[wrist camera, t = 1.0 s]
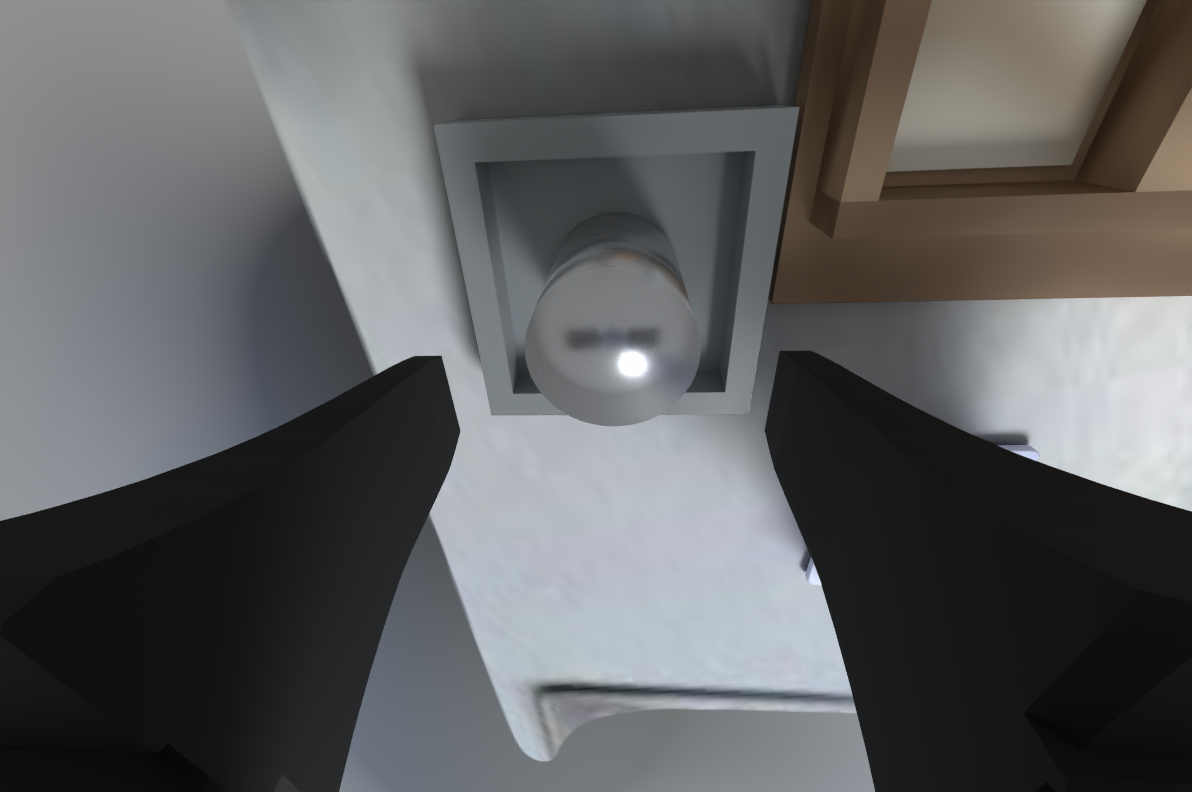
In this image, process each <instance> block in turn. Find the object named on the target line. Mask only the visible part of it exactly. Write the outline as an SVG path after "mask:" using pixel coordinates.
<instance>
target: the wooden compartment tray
mask: <svg viewBox="0 0 1192 792" xmlns="http://www.w3.org/2000/svg"><path fill="white" fill-rule="evenodd" d="M795 107H799V113H798V119H797V125H796V131H795V138H794V144H793V150H792V156H791V162H790V168H789V174H788V180H787V186H786V192H785V198H784V205H783V211H782V217H781V223H780V229H779V235H778V241H777V247H776V253H775V259H774V266H773V272H772V278H771V284H770V290H769V296H768V299H769V301H770V302H771V303H772V304H797V303H848V302H899V301H950V300H1001V299H1052V298H1103V297H1154V296H1192V0H812V1H811V7H810V14H809V20H808V26H807V32H806V39H805V45H804V51H803V57H802V64H801V70H800V76H799V83H798V89H797V95H796V101H795Z"/></svg>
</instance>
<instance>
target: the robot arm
mask: <svg viewBox="0 0 1192 792" xmlns="http://www.w3.org/2000/svg"><path fill="white" fill-rule="evenodd" d="M765 433H766V437H767V442H768V446H769V450H770V454H771V458H772V461H773V465H774V469H775V472H776V474H777V477H778V479H779V482H780V484H781V486H782V489H783V491H784V494H785V496H786V498H787V501H788V503H789V506H790V508H791V510H792V513H793V515H794V517H795V520H796V522H797V524H798V527H799V529H800V532H801V534H802V536H803V539H804V541H805V543H806V546H807V548H808V550H809V553H810V555H811V559H810V562H809V565H808V568H807V571H806V578H807V581H808V582H809V583H810V584H813V585H822V588H823V591H824V595H825V598H826V601H827V605H828V608H829V611H830V615H831V618H832V621H833V625H834V628H835V632H836V635H837V639H838V642H839V646H840V650H841V653H842V657H843V661H844V664H845V668H846V672H847V675H848V679H849V683H850V687H851V691H852V695H853V699H854V703H855V707H856V711H857V715H858V719H859V723H860V727H861V731H862V735H863V739H864V743H865V747H866V751H867V756H868V760H869V765H870V769H871V774H872V779H873V783H874V788H875V792H1192V512H1191V511H1188V510H1184V509H1181V508H1177V507H1174V506H1170V505H1167V504H1164V503H1160V502H1157V501H1153V500H1150V499H1147V498H1143V497H1140V496H1137V495H1134V494H1131V493H1128V492H1124V491H1121V490H1118V489H1115V488H1112V487H1109V486H1106V485H1103V484H1100V483H1097V482H1094V481H1091V480H1088V479H1085V478H1082V477H1080V476H1077V475H1074V474H1071V473H1068V472H1065V471H1062V470H1060V469H1057V468H1054V467H1051V466H1048V465H1045V464H1043V463H1040V462H1037V460H1038V458H1039V452H1038V451H1036V450H1035V449H1034V448H1033V447H1031V446H1028V445H995V444H993V443H990V442H988V441H986V440H983V439H981V438H978V437H976V436H974V435H971V434H969V433H967V432H965V431H963V430H960V429H958V428H956V427H954V426H952V425H950V424H948V423H946V422H944V421H941V420H939V419H937V418H935V417H933V416H931V415H929V414H927V413H925V412H923V411H921V410H919V409H917V408H915V407H914V406H912V405H910V404H908V403H906V402H904V401H902V400H900V399H899V398H897V397H895V396H893V395H891V394H889V393H888V392H886V391H884V390H882V389H880V388H879V387H877V386H875V385H873V384H872V383H870V382H868V381H866V380H865V379H863V378H861V377H859V376H858V375H856V374H854V373H852V372H851V371H849V370H847V369H845V368H844V367H842V366H840V365H838V364H836V363H835V362H833V361H831V360H829V359H827V358H825V357H823V356H821V355H819V354H817V353H815V352H812V351H780V353H779V359H778V364H777V369H776V374H775V379H774V385H773V390H772V395H771V400H770V406H769V411H768V416H767V421H766V426H765ZM459 434H460V428H459V424H458V420H457V416H456V412H455V408H454V404H453V400H452V396H451V392H450V388H449V384H448V380H447V376H446V372H445V368H444V364H443V360H442V356H414V357H411V358H409V359H406V360H404V361H402V362H400V363H398V364H396V365H394V366H392V367H390V368H388V369H386V370H384V371H382V372H380V373H379V374H377V375H375V376H373V377H372V378H370V379H368V380H366V381H364V382H362V383H361V384H359V385H357V386H355V387H353V388H352V389H350V390H348V391H346V392H344V393H343V394H341V395H339V396H337V397H335V398H334V399H332V400H330V401H328V402H326V403H324V404H322V405H320V406H318V407H316V408H314V409H312V410H310V411H309V412H307V413H305V414H303V415H301V416H299V417H297V418H295V419H293V420H291V421H290V422H287V423H285V424H283V425H281V426H279V427H277V428H275V429H273V430H271V431H268V432H266V433H264V434H262V435H260V436H257V437H255V438H253V439H250V440H248V441H245V442H243V443H241V444H238V445H236V446H234V447H232V448H229V449H227V450H224V451H222V452H219V453H217V454H214V455H211V456H209V457H206V458H203V459H200V460H198V461H195V462H192V463H189V464H187V465H184V466H181V467H179V468H176V469H173V470H170V471H167V472H165V473H162V474H159V475H156V476H154V477H151V478H148V479H145V480H142V481H139V482H136V483H133V484H129V485H126V486H123V487H120V488H117V489H114V490H111V491H107V492H104V493H101V494H98V495H94V496H91V497H88V498H84V499H80V500H77V501H73V502H70V503H67V504H63V505H60V506H56V507H52V508H49V509H45V510H41V511H38V512H35V513H31V514H27V515H23V516H19V517H15V518H11V519H7V520H3V521H0V792H339V789H340V785H341V781H342V777H343V773H344V768H345V764H346V761H347V756H348V752H349V748H350V744H351V740H352V736H353V732H354V728H355V725H356V721H357V717H358V713H359V710H360V707H361V703H362V699H363V696H364V692H365V688H366V685H367V681H368V678H369V674H370V670H371V667H372V664H373V661H374V657H375V654H376V651H377V648H378V644H379V641H380V638H381V635H382V631H383V628H384V625H385V622H386V619H387V616H388V613H389V610H390V607H391V604H392V601H393V598H394V595H395V592H396V589H397V586H398V584H399V580H400V578H401V575H402V572H403V570H404V567H405V565H406V563H407V560H408V558H409V555H410V553H411V551H412V549H413V547H414V544H415V542H416V540H417V538H418V536H419V534H420V532H421V529H422V528H423V525H424V523H425V521H426V519H427V517H428V515H429V513H430V510H431V508H432V506H433V504H434V502H435V500H436V498H437V495H438V493H439V491H440V489H441V487H442V484H443V482H444V480H445V478H446V476H447V473H448V471H449V469H450V466H451V462H452V459H453V456H454V453H455V449H456V445H457V442H458V438H459Z"/></svg>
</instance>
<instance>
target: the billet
mask: <svg viewBox="0 0 1192 792" xmlns="http://www.w3.org/2000/svg"><path fill="white" fill-rule="evenodd" d="M700 355H701V343H700V336H699V331H698V328H697V325H696V321H695V318H694V315H693V311H692V308H691V305H690V301H689V298H688V294H687V291H686V288H685V284H684V281H683V278H682V274H681V271H680V268H679V264H678V261H677V258H676V254H675V251H674V249H673V247H672V244H671V243H670V241H669V239H668V238H667V236H666V235H665V234H664V233H663V232H662V230H660V229H659V228H658V227H657V226H656V225H655V224H653V223H652V222H650V221H649V220H647V219H645V218H643V217H641V216H638V215H635V214H632V213H626V212H607V213H603V214H598V215H596V216H593V217H591V218H589V219H587V220H585V221H583V222H582V223H580V224H579V225H578V226H576V227H575V228H574V229H573V230H572V231H571V232H570V233H569V235H568V236H567V237H566V239H565V240H564V242H563V244H562V245H561V247H560V250H559V252H558V254H557V257H556V259H555V262H554V264H553V266H552V269H551V271H550V274H549V276H548V278H547V281H546V283H545V286H544V288H543V290H542V293H541V295H540V298H539V300H538V302H537V305H536V307H535V310H534V312H533V314H532V317H531V319H530V322H529V324H528V327H527V332H526V336H525V358H526V363H527V367H528V370H529V373H530V375H531V377H532V379H533V381H534V383H535V385H536V386H537V388H538V389H539V391H540V392H541V393H542V395H543V396H544V397H545V398H546V399H547V400H548V401H549V402H550V403H551V404H553V405H554V406H555V407H556V408H558V409H559V410H561V411H562V412H564V413H565V414H567V415H569V416H571V417H573V418H576V419H578V420H581V421H583V422H587V423H591V424H596V425H602V426H625V425H631V424H636V423H640V422H643V421H646V420H649V419H651V418H654V417H656V416H658V415H659V414H661V413H663V412H665V411H666V410H667V409H669V408H670V407H672V406H673V405H674V404H675V403H676V402H677V401H678V400H679V399H680V398H681V397H682V396H683V395H684V394H685V393H686V391H687V390H688V388H689V387H690V385H691V384H692V381H693V379H694V377H695V375H696V372H697V369H698V366H699V361H700Z"/></svg>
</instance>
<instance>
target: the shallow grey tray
mask: <svg viewBox="0 0 1192 792" xmlns="http://www.w3.org/2000/svg"><path fill="white" fill-rule="evenodd" d="M798 113H799V107H794V106H784V105H765V106H744V107H723V108H702V109H681V110H660V111H640V112H619V113H598V114H577V115H556V116H535V117H514V118H493V119H472V120H455V121H449V122H444V123H438V124H433V126H434V131H435V136H436V141H437V146H438V151H439V155H440V160H441V165H442V170H443V175H444V180H445V185H446V190H447V195H448V200H449V205H450V210H451V215H452V220H453V225H454V230H455V235H456V240H457V245H458V250H459V255H460V260H461V265H462V270H463V275H464V280H465V285H466V290H467V295H468V300H469V305H470V310H471V315H472V320H473V325H474V330H475V335H476V340H477V345H478V350H479V355H480V360H481V365H482V370H483V375H484V380H485V385H486V390H487V395H488V400H489V405H490V410H491V415H567V414H565V413H564V412H562V411H561V410H559V409H558V408H556V407H555V406H554V405H553V404H551V403H550V402H549V401H548V400H547V399H546V398H545V397H544V396H543V395H542V393H541V392H540V391H539V389H538V388H537V386H536V385H535V383H534V381H533V379H532V377H531V375H530V373H529V370H528V367H527V363H526V358H525V336H526V332H527V327H528V324H529V322H530V319H531V317H532V314H533V312H534V310H535V307H536V305H537V302H538V300H539V298H540V295H541V293H542V290H543V288H544V286H545V283H546V281H547V278H548V276H549V274H550V271H551V269H552V266H553V264H554V262H555V259H556V257H557V254H558V252H559V250H560V247H561V245H562V244H563V242H564V240H565V239H566V237H567V236H568V235H569V233H570V232H571V231H572V230H573V229H574V228H575V227H576V226H578V225H579V224H580V223H582V222H583V221H585V220H587V219H589V218H591V217H593V216H596V215H598V214H603V213H607V212H626V213H632V214H635V215H638V216H641V217H643V218H645V219H647V220H649V221H650V222H652V223H653V224H655V225H656V226H657V227H658V228H659V229H660V230H662V232H663V233H664V234H665V235H666V236H667V238H668V239H669V241H670V243H671V244H672V247H673V249H674V251H675V254H676V258H677V261H678V264H679V268H680V271H681V274H682V278H683V281H684V284H685V288H686V291H687V294H688V298H689V301H690V305H691V308H692V311H693V315H694V318H695V321H696V325H697V328H698V331H699V336H700V343H701V355H700V361H699V366H698V369H697V372H696V375H695V377H694V379H693V381H692V384H691V385H690V387H689V388H688V390H687V391H686V393H685V394H684V395H683V396H682V397H681V398H680V399H679V400H678V401H677V402H676V403H675V404H674V405H673V406H672V407H670V408H669V409H667V410H666V411H665V412H663V413H661V414H659V415H694V414H749V412H750V406H751V400H752V394H753V387H754V381H755V375H756V369H757V363H758V357H759V351H760V345H761V339H762V333H763V326H764V320H765V314H766V308H767V302H768V296H769V290H770V284H771V278H772V272H773V266H774V259H775V253H776V247H777V241H778V235H779V229H780V223H781V217H782V211H783V205H784V198H785V192H786V186H787V180H788V174H789V168H790V162H791V156H792V150H793V144H794V138H795V131H796V125H797V119H798Z"/></svg>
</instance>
